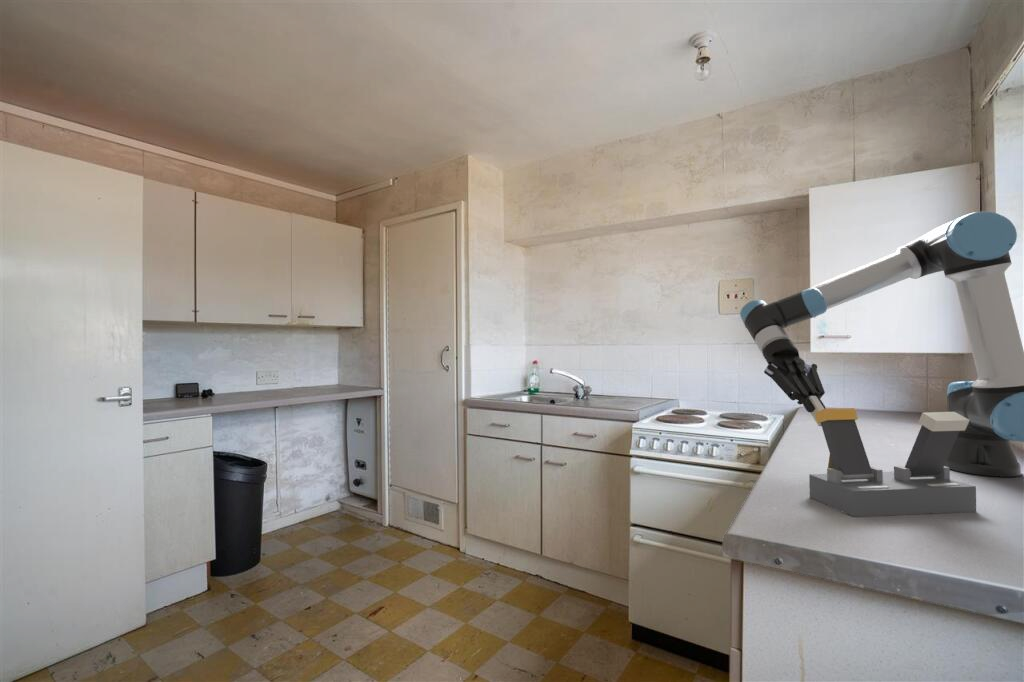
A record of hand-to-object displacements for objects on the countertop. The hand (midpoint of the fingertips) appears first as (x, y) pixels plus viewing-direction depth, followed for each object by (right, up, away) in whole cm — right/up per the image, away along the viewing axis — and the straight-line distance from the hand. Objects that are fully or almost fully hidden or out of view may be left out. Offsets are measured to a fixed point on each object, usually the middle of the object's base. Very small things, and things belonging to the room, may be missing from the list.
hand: (824, 422), depth 106 cm
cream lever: (+16, -9, -7) cm, 20 cm away
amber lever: (+1, -10, -8) cm, 12 cm away
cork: (+12, -16, +12) cm, 24 cm away
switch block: (+9, -16, -7) cm, 19 cm away
